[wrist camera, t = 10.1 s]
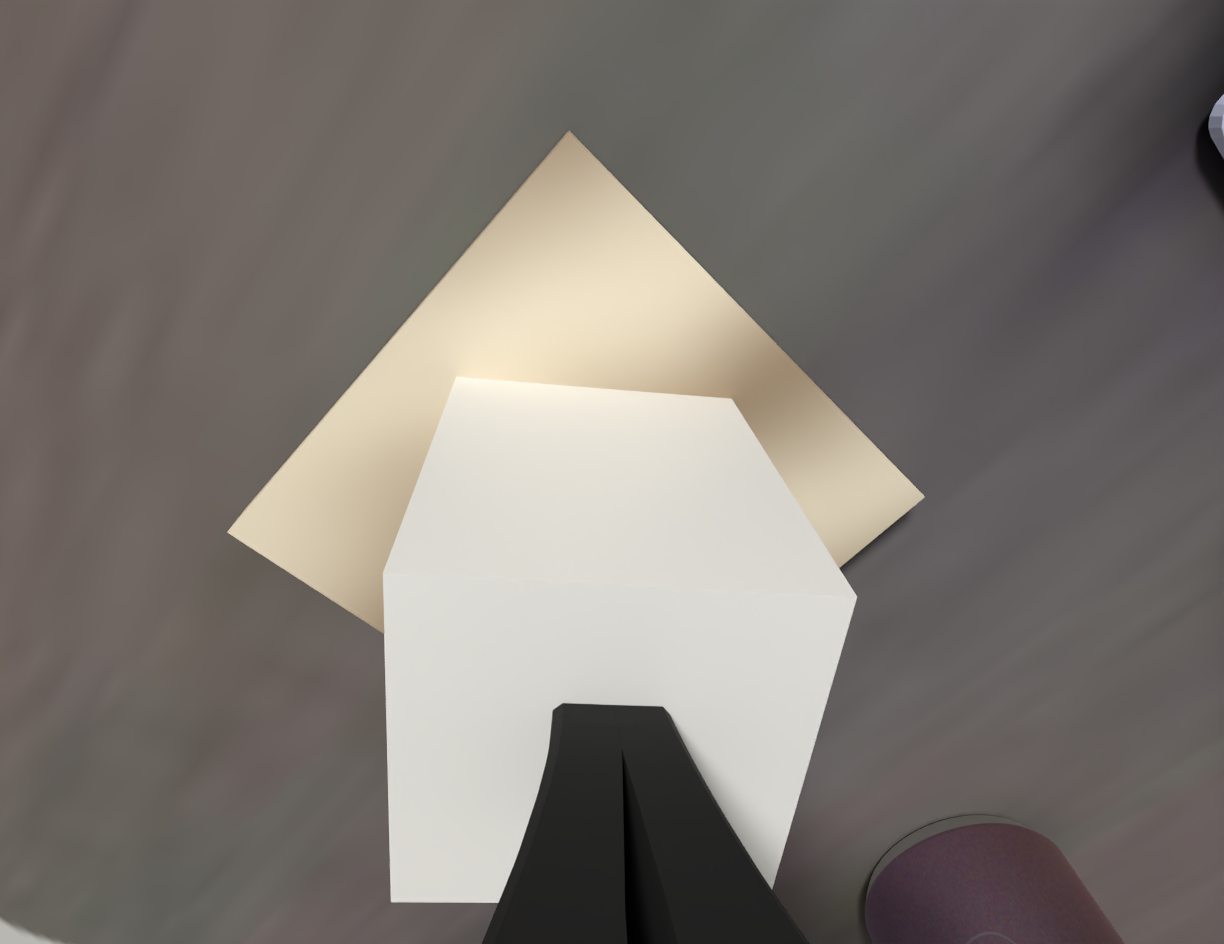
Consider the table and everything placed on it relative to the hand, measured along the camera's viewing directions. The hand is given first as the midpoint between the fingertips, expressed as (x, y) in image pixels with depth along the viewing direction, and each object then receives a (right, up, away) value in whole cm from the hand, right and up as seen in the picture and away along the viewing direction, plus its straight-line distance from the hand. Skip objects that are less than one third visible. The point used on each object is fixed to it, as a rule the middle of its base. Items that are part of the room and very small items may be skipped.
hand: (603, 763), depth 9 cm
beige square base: (0, +3, +7) cm, 8 cm away
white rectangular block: (0, +3, +6) cm, 7 cm away
